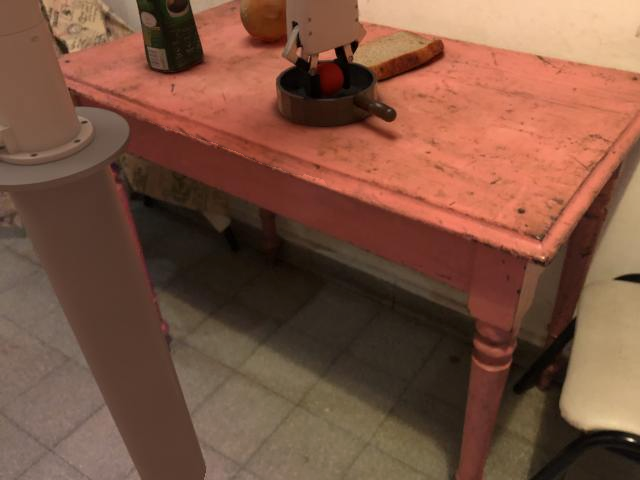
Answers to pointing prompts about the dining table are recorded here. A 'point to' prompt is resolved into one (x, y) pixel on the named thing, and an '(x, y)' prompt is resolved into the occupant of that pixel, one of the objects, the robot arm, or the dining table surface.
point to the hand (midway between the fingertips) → (327, 90)
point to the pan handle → (375, 108)
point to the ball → (330, 78)
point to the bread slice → (396, 53)
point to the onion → (264, 18)
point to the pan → (324, 98)
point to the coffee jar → (169, 34)
